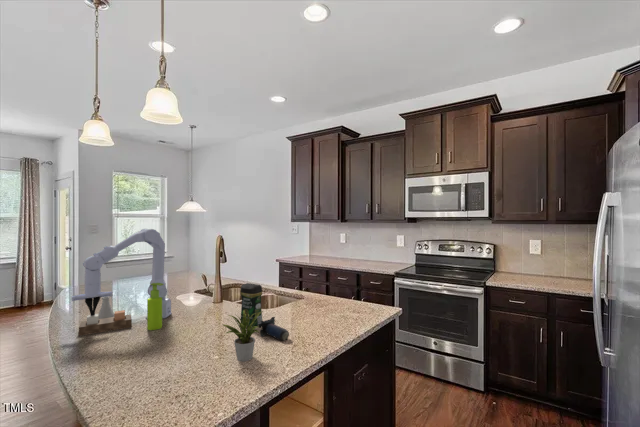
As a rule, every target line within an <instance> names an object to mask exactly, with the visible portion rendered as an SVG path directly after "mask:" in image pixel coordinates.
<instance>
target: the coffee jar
mask: <svg viewBox="0 0 640 427" xmlns="http://www.w3.org/2000/svg"><path fill="white" fill-rule="evenodd" d="M262 294H263V287H262V285H261V284H256V283H249V282H247V283H244V284H242V285H241V287H240V296H241V297H240V298H241V308H240V310H241V311H240V319H241V320H242V322H243V310H244V311H245V314H246V321H247V318H248V314H249V319H250V317H251V316H252V315H253V314H254V315H253V316H252V317H251V319H250V321H249V325H250V324H251V322H252V320H253V318H254V317H255V316H256V315H257V314H258V313H259V312H261V313H260V314H259V315H258V317H257V318H256V320H255V321H254V323H253V325H254V326H257V327H259V324H260V323H261V321H263V312H262V296H263V295H262ZM255 313H256V314H255ZM256 321H257V322H256ZM255 322H256V323H255ZM240 323H241V322H240ZM241 324H242V323H241ZM253 325H252V326H253Z"/></svg>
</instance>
